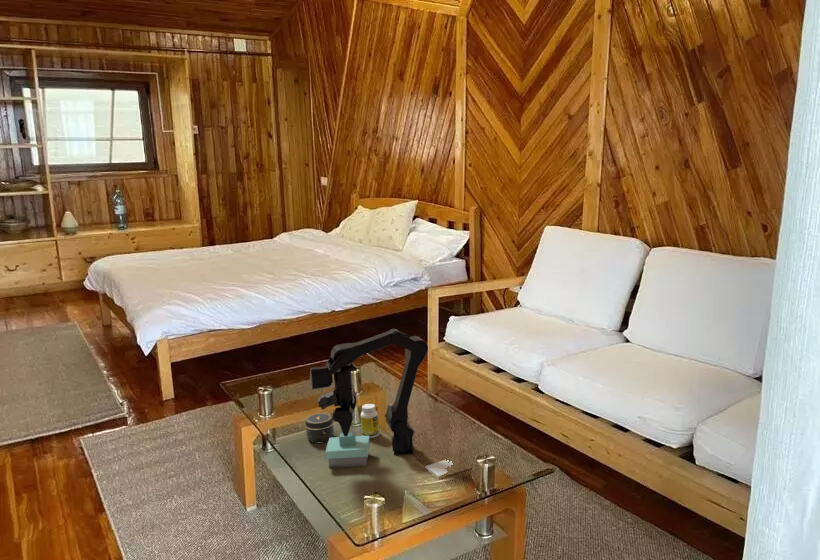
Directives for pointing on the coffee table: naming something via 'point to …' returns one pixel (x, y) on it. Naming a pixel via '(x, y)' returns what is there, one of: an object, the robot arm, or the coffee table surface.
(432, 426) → the coffee table surface
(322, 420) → the jar
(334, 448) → the lid
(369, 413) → the pill bottle
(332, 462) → the storage box
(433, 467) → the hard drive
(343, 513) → the coffee table surface
